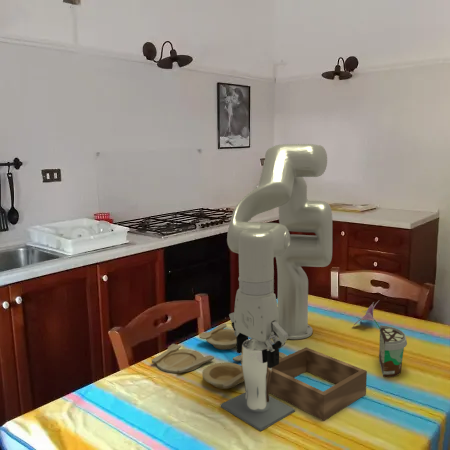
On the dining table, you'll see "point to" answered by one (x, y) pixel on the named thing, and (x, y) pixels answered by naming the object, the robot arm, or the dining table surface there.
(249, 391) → the beer glass
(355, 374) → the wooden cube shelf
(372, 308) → the lily
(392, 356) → the food container
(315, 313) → the dining table surface
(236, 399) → the grey mat
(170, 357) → the tableware set
